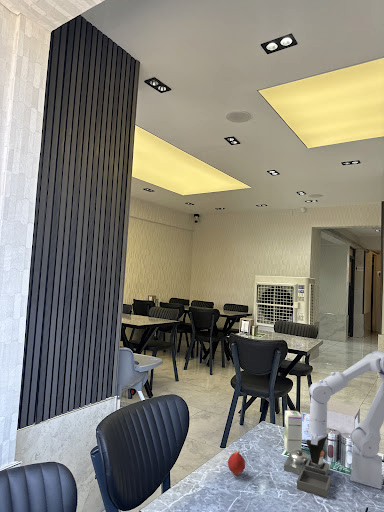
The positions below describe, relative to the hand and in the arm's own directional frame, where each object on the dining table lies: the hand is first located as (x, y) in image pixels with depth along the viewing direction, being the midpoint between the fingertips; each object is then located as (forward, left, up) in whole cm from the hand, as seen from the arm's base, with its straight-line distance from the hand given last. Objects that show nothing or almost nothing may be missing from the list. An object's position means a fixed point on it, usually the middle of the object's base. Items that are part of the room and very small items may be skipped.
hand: (316, 458), depth 125 cm
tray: (-1, +8, -5) cm, 10 cm away
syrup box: (+11, -15, -6) cm, 19 cm away
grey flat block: (+3, -2, -5) cm, 7 cm away
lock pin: (0, 0, -3) cm, 3 cm away
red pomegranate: (+23, +16, -6) cm, 29 cm away
